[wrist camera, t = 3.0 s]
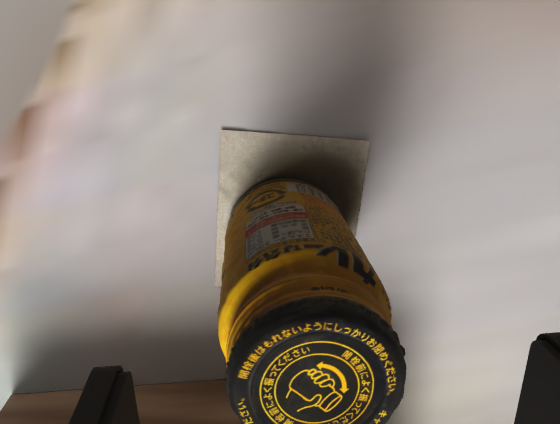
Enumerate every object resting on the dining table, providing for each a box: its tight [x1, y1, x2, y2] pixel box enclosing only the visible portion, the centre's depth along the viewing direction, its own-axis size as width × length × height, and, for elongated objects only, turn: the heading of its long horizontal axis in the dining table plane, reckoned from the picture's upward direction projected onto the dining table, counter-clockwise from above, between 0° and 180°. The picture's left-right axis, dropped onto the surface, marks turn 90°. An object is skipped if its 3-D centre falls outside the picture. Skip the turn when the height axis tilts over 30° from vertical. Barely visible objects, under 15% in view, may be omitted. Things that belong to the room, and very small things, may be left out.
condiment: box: [214, 130, 406, 424], centre depth 18 cm, size 7×8×12 cm
